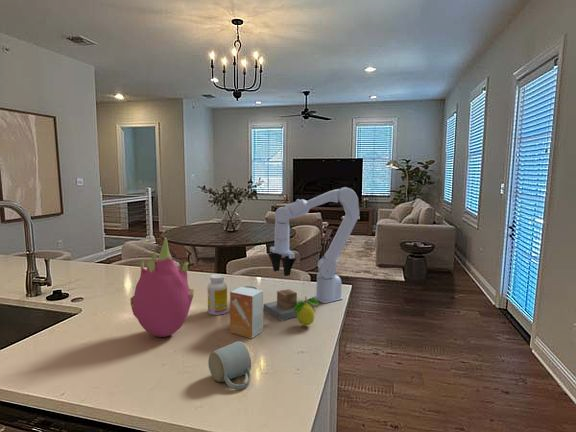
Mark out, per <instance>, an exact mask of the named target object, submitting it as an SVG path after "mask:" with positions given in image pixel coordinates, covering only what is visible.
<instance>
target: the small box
mask: <svg viewBox="0 0 576 432" xmlns="http://www.w3.org/2000/svg"><path fill="white" fill-rule="evenodd" d="M229 296H230V298H229V299H230V300H229V302H230V303H229V304H230V305H229V307H230V308H229V319H230V320H229V332H230V333H231V334H234V335H238V336H242V337H246V338H250V339H254V338H255V337H257V336H258V335H259V334H260V333H262V332H263V331H264V290H262V289H258V288H257V289H253V288H246V287H245V286H239V287H238V288H235V289H233V290H232V291H230V294H229Z"/></svg>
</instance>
